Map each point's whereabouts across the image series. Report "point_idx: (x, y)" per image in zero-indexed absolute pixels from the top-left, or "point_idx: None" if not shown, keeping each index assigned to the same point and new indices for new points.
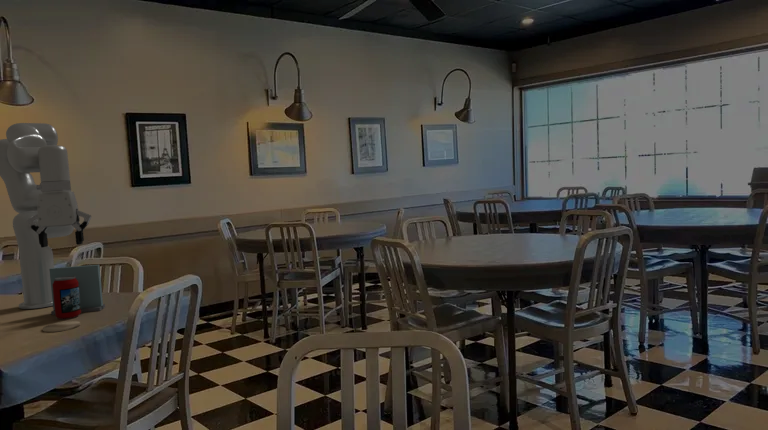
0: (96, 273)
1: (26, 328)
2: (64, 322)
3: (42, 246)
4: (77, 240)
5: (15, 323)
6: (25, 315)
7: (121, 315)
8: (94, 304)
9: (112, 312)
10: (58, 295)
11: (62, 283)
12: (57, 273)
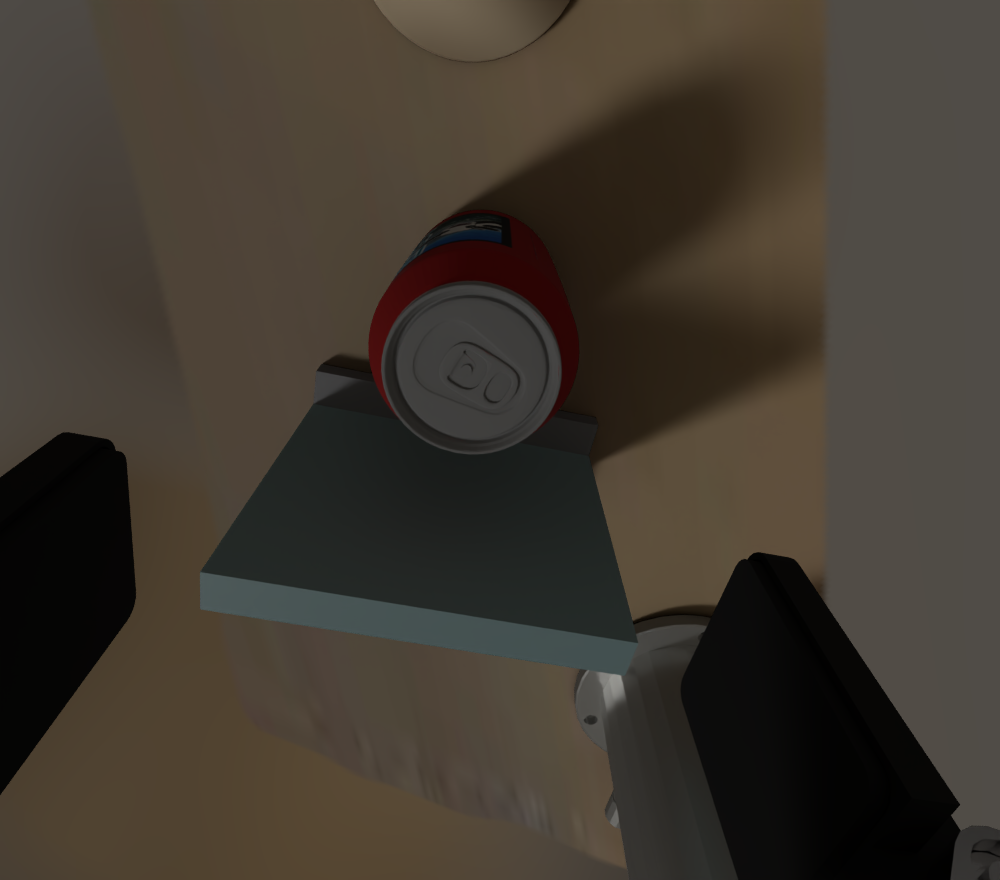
0: (248, 528)
1: (708, 77)
2: (467, 30)
3: (769, 556)
4: (31, 474)
5: (777, 297)
6: (732, 489)
7: (121, 111)
8: (350, 418)
9: (221, 261)
10: (522, 244)
11: (480, 259)
12: (568, 599)
